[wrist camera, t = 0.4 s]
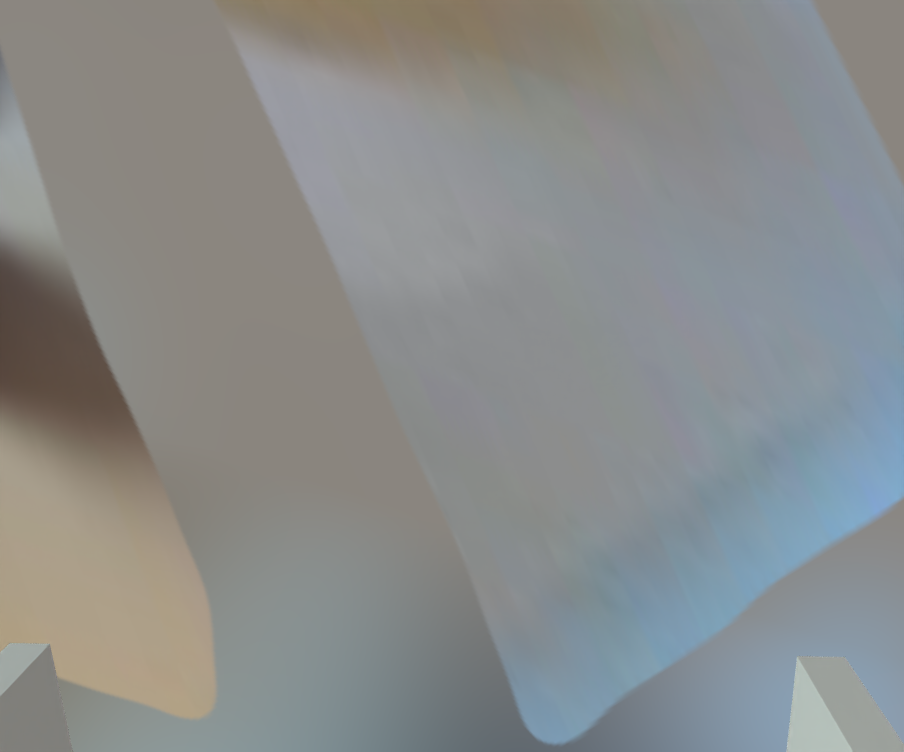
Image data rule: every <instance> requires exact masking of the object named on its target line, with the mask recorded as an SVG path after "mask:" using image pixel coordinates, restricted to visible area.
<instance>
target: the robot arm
mask: <svg viewBox="0 0 904 752" xmlns="http://www.w3.org/2000/svg"><path fill="white" fill-rule="evenodd" d="M788 735H789V736H788V744H787V752H904V744H903V742H902V741H901V739H900V738H899V736H898V735H897V733H896V732H895V730H894V729H893V727H892V726H891V725H890V723H889V722H888V720H887V719H886V717H885V716H884V714H883V713H882V711H881V710H880V708H879V707H878V705H877V704H876V702H875V701H874V699H873V698H872V697H871V695H870V694H869V692H868V691H867V689H866V688H865V686H864V685H863V683H862V682H861V680H860V679H859V677H858V676H857V675H856V673H855V672H854V670H853V669H852V667H851V666H850V665H849V663H848V661H847V660H846V658H845V657H810V656H809V657H808V656H798V657H797V664H796V672H795V681H794V690H793V699H792V708H791V717H790V726H789V734H788ZM0 752H73V750H72V745H71V741H70V736H69V732H68V727H67V722H66V718H65V713H64V708H63V703H62V699H61V694H60V689H59V685H58V680H57V675H56V670H55V666H54V661H53V656H52V652H51V647H50V644H27V643H9V644H8V645H7V646H6V647H5V648H4V649H3V650H2V651H1V652H0Z"/></svg>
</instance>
